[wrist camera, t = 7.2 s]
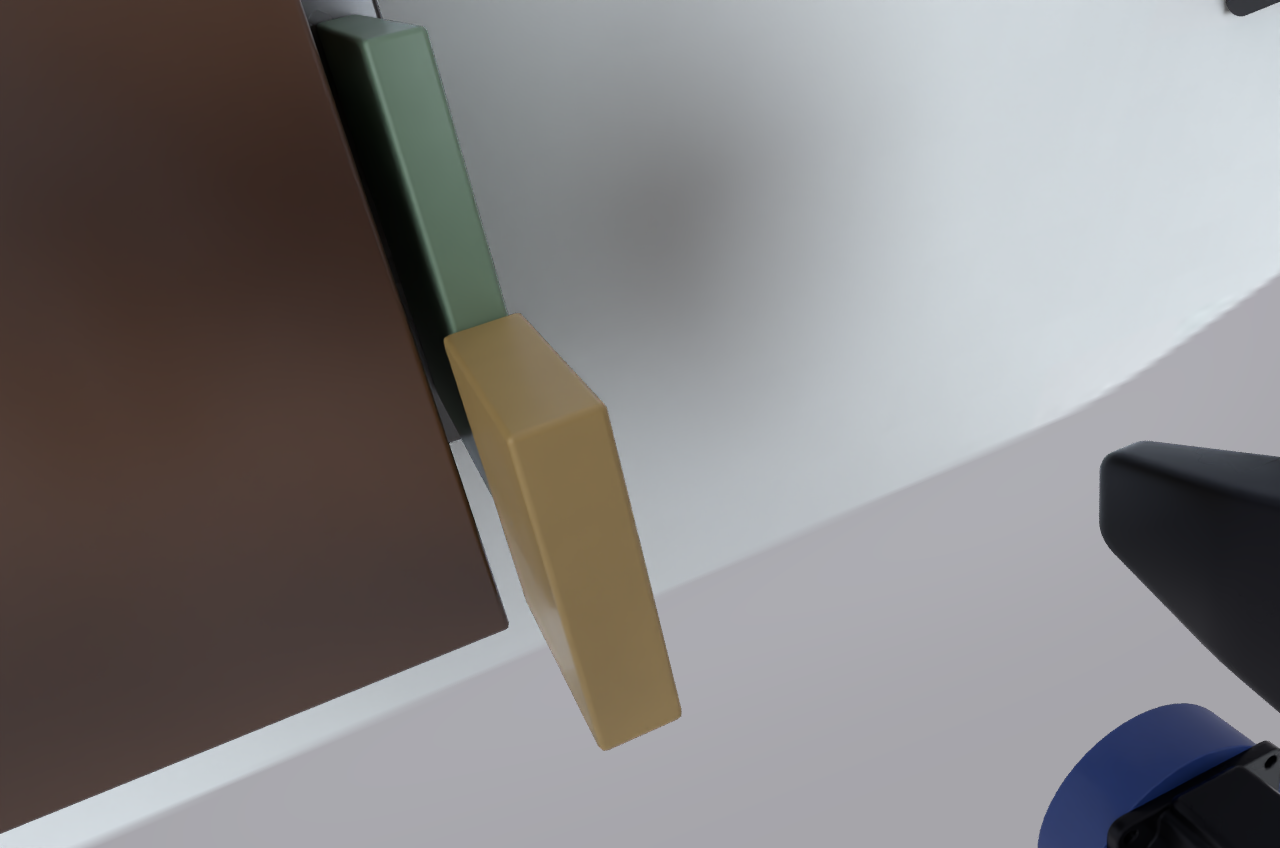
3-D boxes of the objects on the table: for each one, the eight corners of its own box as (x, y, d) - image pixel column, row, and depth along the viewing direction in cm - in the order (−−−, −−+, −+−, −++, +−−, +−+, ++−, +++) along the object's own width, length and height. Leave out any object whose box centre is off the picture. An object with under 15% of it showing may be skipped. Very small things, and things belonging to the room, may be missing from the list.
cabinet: (496, 409, 20) (612, 588, 14) (-72, 608, 18) (-223, 927, 12) (222, -487, 14) (223, -857, 8) (-724, -372, 11) (-1793, -781, 5)
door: (492, 415, 19) (686, 719, 11) (442, 433, 19) (602, 756, 11) (368, 11, 16) (516, 32, 8) (305, 25, 16) (392, 62, 8)
